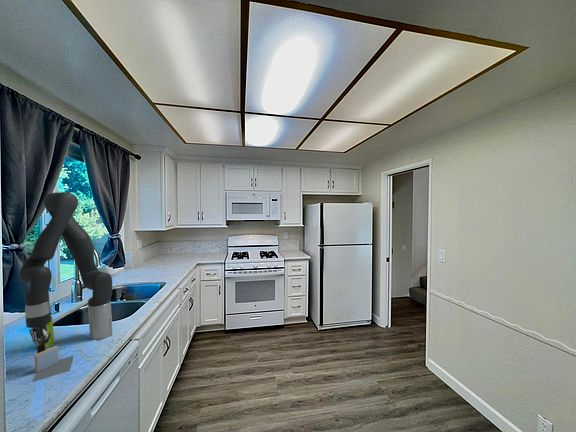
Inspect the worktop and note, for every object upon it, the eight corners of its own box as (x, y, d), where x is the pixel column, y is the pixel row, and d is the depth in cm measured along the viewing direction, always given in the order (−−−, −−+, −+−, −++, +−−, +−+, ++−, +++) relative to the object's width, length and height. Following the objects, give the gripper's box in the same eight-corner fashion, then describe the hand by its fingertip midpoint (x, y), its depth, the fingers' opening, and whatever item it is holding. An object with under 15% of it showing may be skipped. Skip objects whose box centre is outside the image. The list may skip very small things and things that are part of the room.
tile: (35, 371, 101) (34, 354, 100) (57, 361, 107) (56, 345, 107) (37, 372, 100) (35, 356, 100) (59, 362, 106) (57, 346, 106)
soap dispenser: (35, 345, 119) (32, 305, 118) (55, 341, 123) (52, 301, 122) (32, 352, 115) (29, 309, 113) (52, 346, 119) (50, 306, 117)
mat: (73, 356, 111) (73, 355, 111) (70, 371, 101) (69, 370, 101) (39, 366, 105) (39, 364, 105) (31, 383, 95) (31, 382, 95)
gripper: (18, 313, 103) (22, 353, 105) (33, 320, 98) (36, 362, 99) (42, 306, 110) (45, 344, 111) (57, 312, 104) (60, 352, 106)
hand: (41, 352), depth 105 cm, fingers closed
